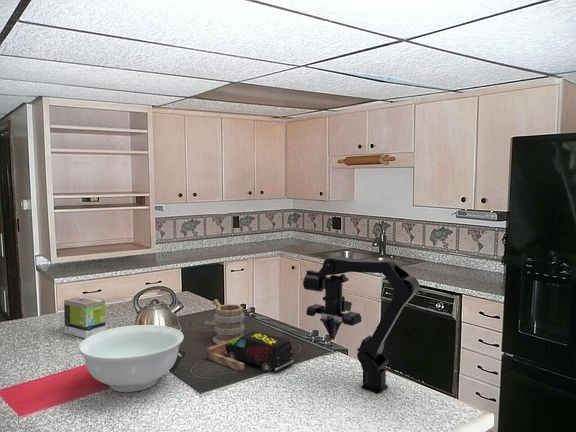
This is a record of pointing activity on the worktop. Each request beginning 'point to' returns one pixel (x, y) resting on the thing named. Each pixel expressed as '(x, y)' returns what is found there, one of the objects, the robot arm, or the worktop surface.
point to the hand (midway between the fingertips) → (332, 339)
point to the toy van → (261, 350)
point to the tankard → (228, 322)
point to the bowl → (131, 355)
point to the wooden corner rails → (217, 356)
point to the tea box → (84, 316)
